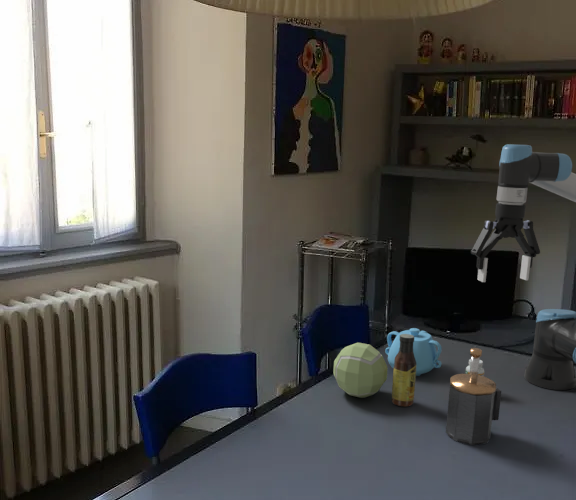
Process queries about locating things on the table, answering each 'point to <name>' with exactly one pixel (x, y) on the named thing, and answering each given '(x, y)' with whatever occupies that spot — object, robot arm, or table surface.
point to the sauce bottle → (404, 373)
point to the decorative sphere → (360, 370)
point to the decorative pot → (416, 350)
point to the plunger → (473, 378)
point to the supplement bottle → (480, 371)
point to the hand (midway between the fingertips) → (502, 280)
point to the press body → (471, 416)
